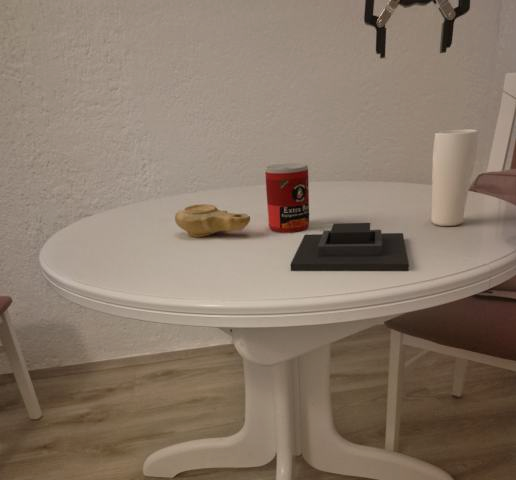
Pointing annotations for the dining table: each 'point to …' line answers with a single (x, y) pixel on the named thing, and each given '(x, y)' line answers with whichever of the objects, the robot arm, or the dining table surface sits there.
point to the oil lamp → (209, 220)
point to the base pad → (352, 254)
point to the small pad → (350, 233)
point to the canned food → (287, 197)
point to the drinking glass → (452, 174)
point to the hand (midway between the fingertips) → (412, 55)
